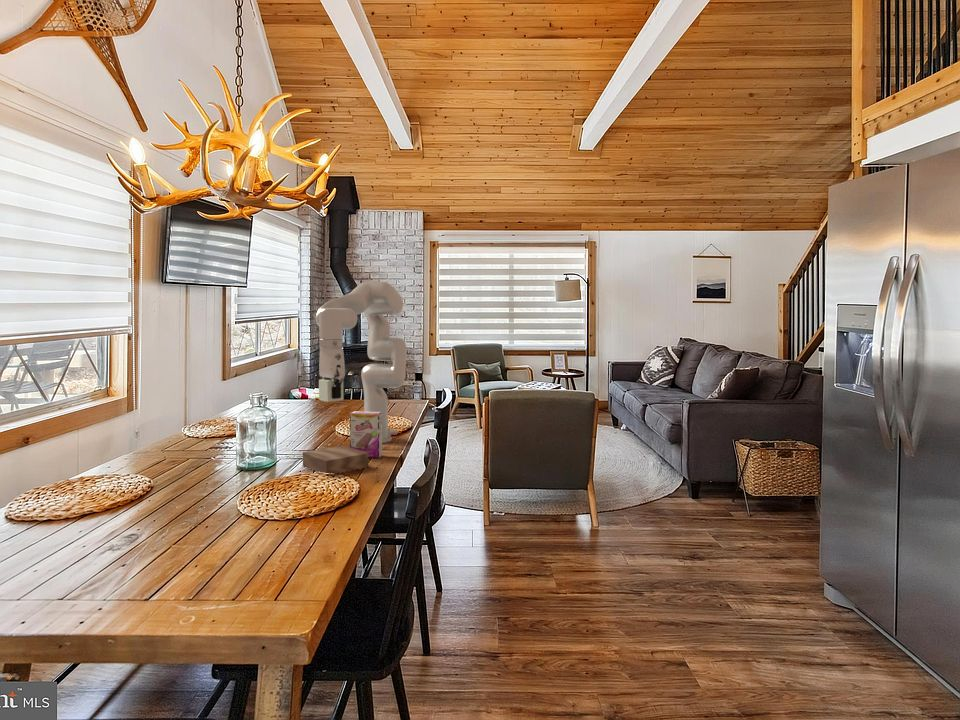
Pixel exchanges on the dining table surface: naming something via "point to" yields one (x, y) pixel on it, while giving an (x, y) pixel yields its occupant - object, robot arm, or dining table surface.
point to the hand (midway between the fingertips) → (331, 396)
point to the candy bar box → (366, 432)
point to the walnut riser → (335, 459)
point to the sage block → (328, 390)
